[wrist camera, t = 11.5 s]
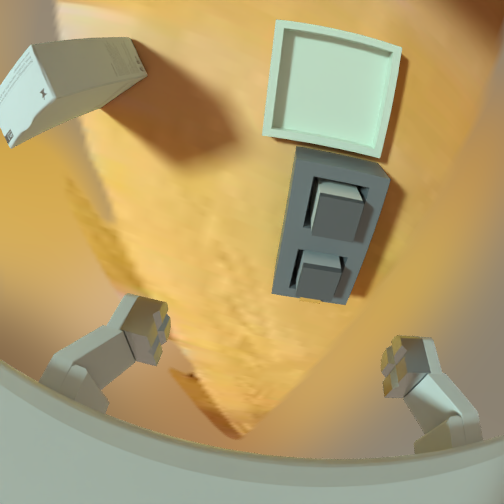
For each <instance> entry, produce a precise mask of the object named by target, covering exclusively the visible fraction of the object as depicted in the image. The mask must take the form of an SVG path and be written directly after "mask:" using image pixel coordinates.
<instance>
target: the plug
mask: <svg viewBox="0 0 504 504" xmlns="http://www.w3.org/2000/svg"><path fill="white" fill-rule="evenodd" d="M363 208H364V203H363V200H362V198H361V196H360V194H359V191H358V189H357V187H356V185H354V184H350V183H345V182H340V181H335V180H330V179H325V178H320V177H316V180H315V185H314V189H313V194H312V199H311V204H310V217H311V233H312V236H318V237H324V238H330V239H335V240H341V241H347V242H352V243H353V240H354V237H355V234H356V231H357V228H358V224H359V221H360V218H361V214H362V211H363Z"/></svg>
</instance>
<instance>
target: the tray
mask: <svg viewBox="0 0 504 504" xmlns="http://www.w3.org/2000/svg"><path fill="white" fill-rule="evenodd" d="M401 51H402V47H399V46H396V45H393V44H390V43H387V42H383V41H380V40H377V39H373V38H370V37H366V36H363V35H359V34H355V33H351V32H347V31H342V30H338V29H333V28H328V27H323V26H318V25H312V24H306V23H300V22H292V21H285V20H276V25H275V33H274V41H273V49H272V58H271V66H270V74H269V82H268V91H267V99H266V107H265V115H264V124H263V132H262V135H263V136H270V137H277V138H283V139H290V140H296V141H301V142H307V143H313V144H318V145H323V146H328V147H333V148H338V149H342V150H347V151H351V152H356V153H360V154H364V155H368V156H372V157H376V158H380V156H381V152H382V148H383V144H384V140H385V136H386V132H387V127H388V123H389V118H390V113H391V109H392V104H393V99H394V93H395V88H396V82H397V77H398V71H399V65H400V58H401Z"/></svg>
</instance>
